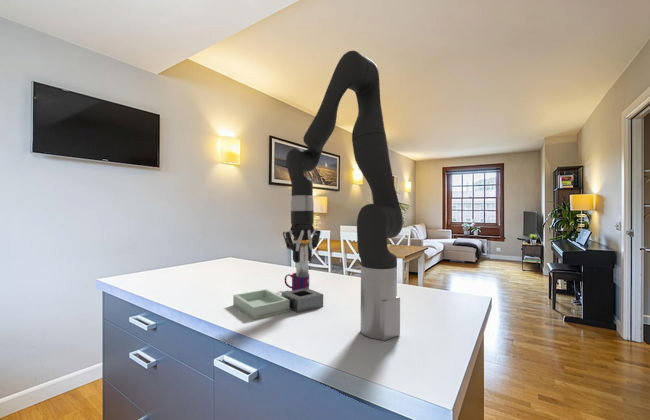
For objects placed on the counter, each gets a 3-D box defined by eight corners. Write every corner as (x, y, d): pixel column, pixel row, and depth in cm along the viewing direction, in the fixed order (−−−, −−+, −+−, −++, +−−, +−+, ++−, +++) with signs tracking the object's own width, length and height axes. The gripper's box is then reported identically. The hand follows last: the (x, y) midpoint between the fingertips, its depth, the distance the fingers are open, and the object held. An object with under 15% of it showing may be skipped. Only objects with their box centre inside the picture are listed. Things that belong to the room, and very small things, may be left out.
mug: (304, 294, 111) (304, 276, 111) (281, 291, 116) (281, 274, 116) (312, 290, 118) (312, 273, 118) (290, 287, 122) (290, 271, 122)
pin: (313, 276, 98) (312, 239, 98) (300, 278, 95) (300, 240, 95) (304, 273, 102) (304, 238, 102) (292, 275, 99) (291, 239, 99)
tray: (289, 310, 94) (289, 300, 94) (253, 319, 86) (253, 307, 86) (266, 298, 106) (266, 289, 106) (233, 305, 99) (233, 294, 99)
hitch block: (323, 306, 98) (323, 294, 98) (297, 312, 92) (297, 299, 92) (306, 299, 106) (306, 287, 106) (281, 304, 100) (281, 292, 100)
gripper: (289, 209, 92) (289, 265, 92) (326, 209, 100) (326, 260, 100) (277, 209, 98) (277, 262, 97) (313, 209, 106) (313, 258, 106)
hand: (302, 261), depth 99 cm, fingers closed on pin, 4 cm apart
